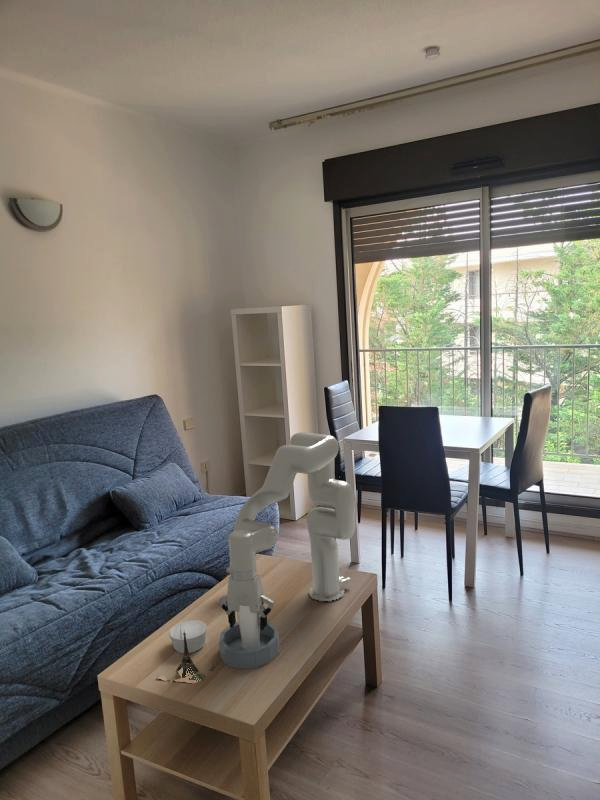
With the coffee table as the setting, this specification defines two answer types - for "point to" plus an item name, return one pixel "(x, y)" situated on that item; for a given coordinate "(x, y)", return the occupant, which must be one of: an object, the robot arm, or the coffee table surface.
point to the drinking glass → (249, 628)
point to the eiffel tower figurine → (190, 664)
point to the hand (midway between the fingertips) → (248, 626)
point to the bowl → (249, 658)
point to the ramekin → (188, 635)
